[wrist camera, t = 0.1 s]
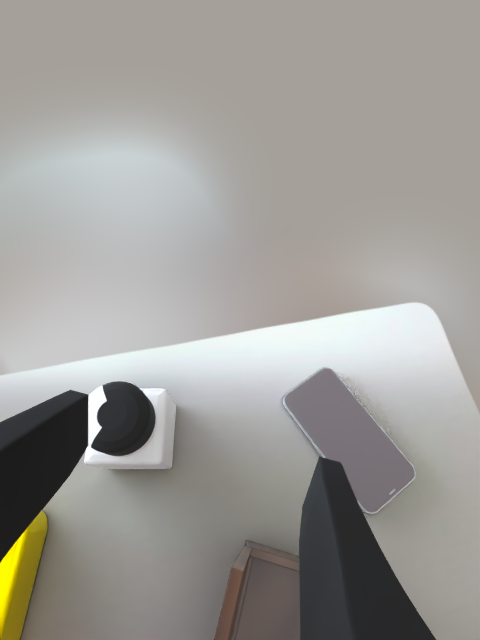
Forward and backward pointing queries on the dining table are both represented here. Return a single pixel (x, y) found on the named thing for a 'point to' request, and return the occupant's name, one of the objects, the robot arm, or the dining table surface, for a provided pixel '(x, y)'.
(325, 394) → the smartphone
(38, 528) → the element tile
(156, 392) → the medicine bottle
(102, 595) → the dining table surface
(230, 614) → the lid
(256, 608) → the box
